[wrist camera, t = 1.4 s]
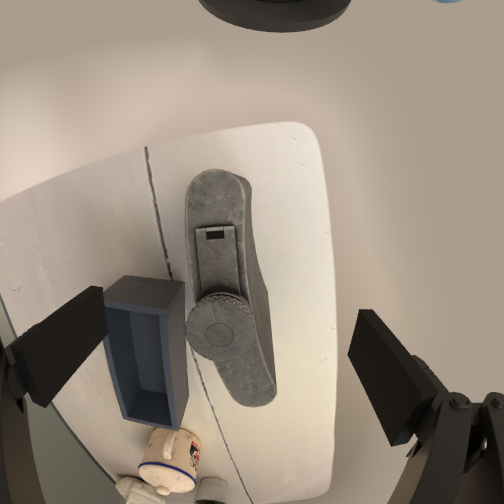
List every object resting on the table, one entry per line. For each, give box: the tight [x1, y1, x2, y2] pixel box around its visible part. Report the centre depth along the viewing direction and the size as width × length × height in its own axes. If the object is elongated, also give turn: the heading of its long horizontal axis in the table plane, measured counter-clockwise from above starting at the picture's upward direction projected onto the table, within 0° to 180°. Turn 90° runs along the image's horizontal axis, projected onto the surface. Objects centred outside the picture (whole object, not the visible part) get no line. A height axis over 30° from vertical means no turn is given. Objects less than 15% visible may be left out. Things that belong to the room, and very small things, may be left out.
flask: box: [185, 169, 277, 407], centre depth 21 cm, size 4×14×18 cm, turn 9°
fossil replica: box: [116, 477, 166, 504], centre depth 40 cm, size 12×8×10 cm
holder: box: [103, 276, 189, 431], centre depth 29 cm, size 18×8×7 cm, turn 176°
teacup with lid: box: [138, 428, 201, 495], centre depth 32 cm, size 12×9×12 cm
